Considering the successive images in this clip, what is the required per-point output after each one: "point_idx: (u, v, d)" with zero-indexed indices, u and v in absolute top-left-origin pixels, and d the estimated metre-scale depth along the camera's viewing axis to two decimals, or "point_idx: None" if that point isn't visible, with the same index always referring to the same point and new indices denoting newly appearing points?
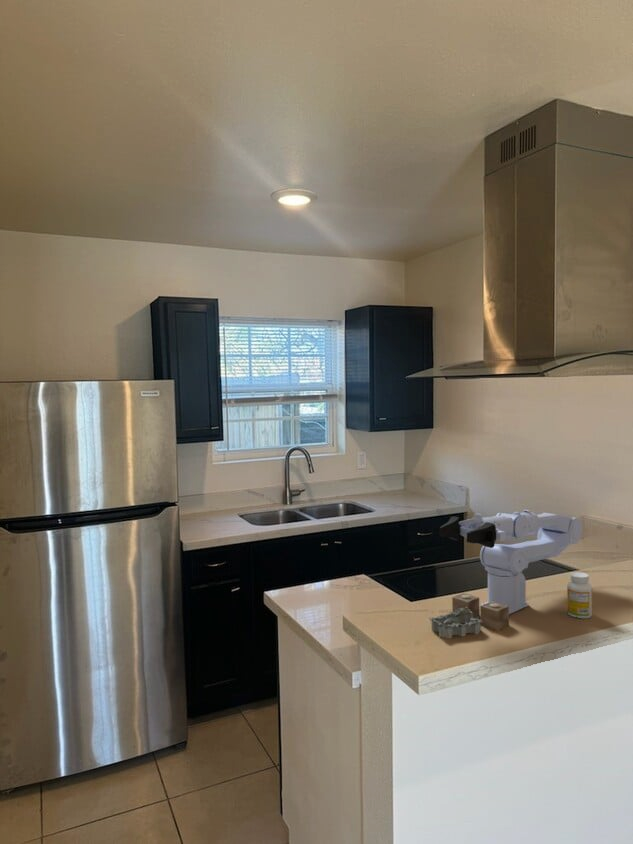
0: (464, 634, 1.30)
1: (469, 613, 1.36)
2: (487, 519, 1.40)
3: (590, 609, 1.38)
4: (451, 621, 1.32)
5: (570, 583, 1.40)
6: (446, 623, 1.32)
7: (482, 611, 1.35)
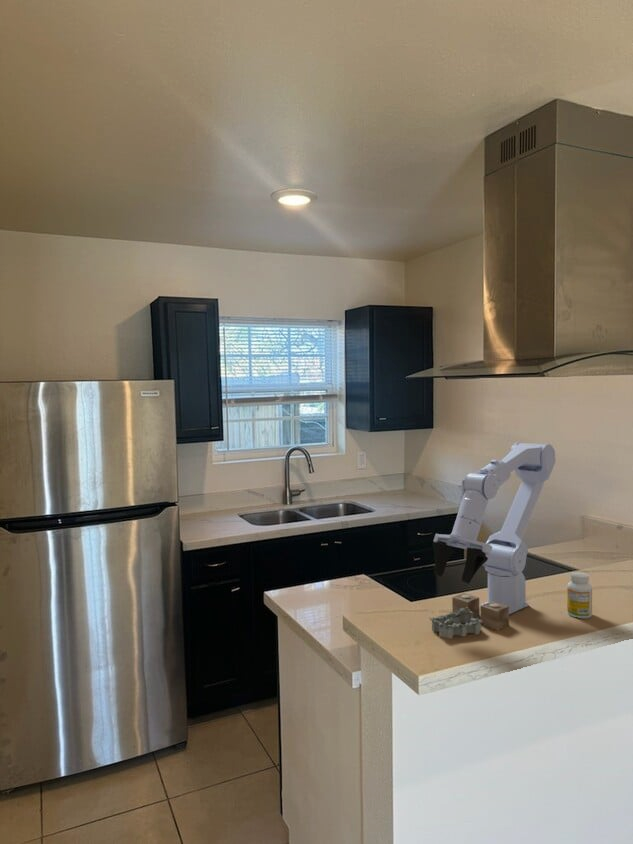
0: (464, 634, 1.30)
1: (469, 613, 1.36)
2: (463, 527, 1.33)
3: (590, 609, 1.38)
4: (451, 621, 1.32)
5: (570, 583, 1.40)
6: (446, 623, 1.32)
7: (482, 611, 1.35)
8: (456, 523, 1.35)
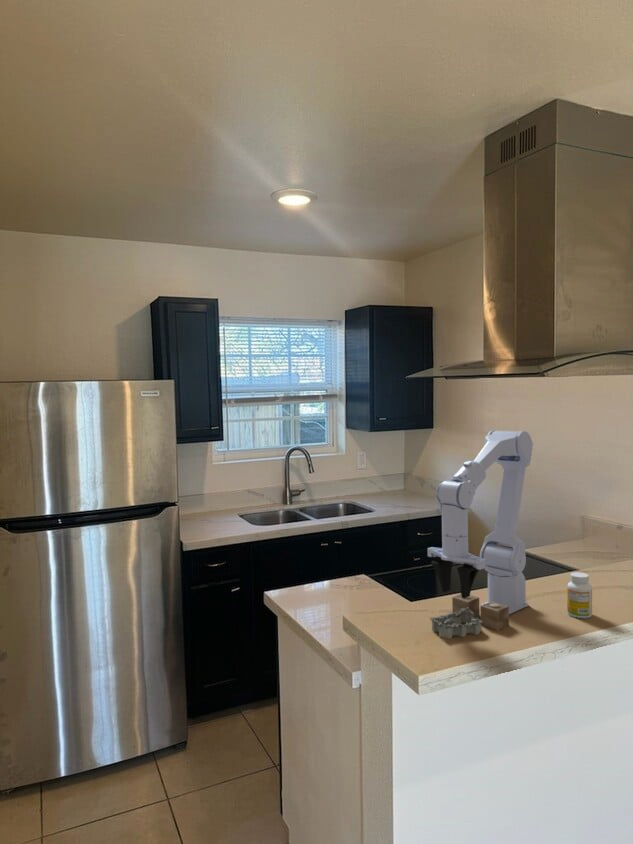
0: (464, 634, 1.30)
1: (470, 613, 1.36)
2: (451, 547, 1.30)
3: (590, 609, 1.38)
4: (451, 621, 1.32)
5: (570, 583, 1.40)
6: (446, 623, 1.32)
7: (482, 611, 1.35)
8: (443, 542, 1.31)
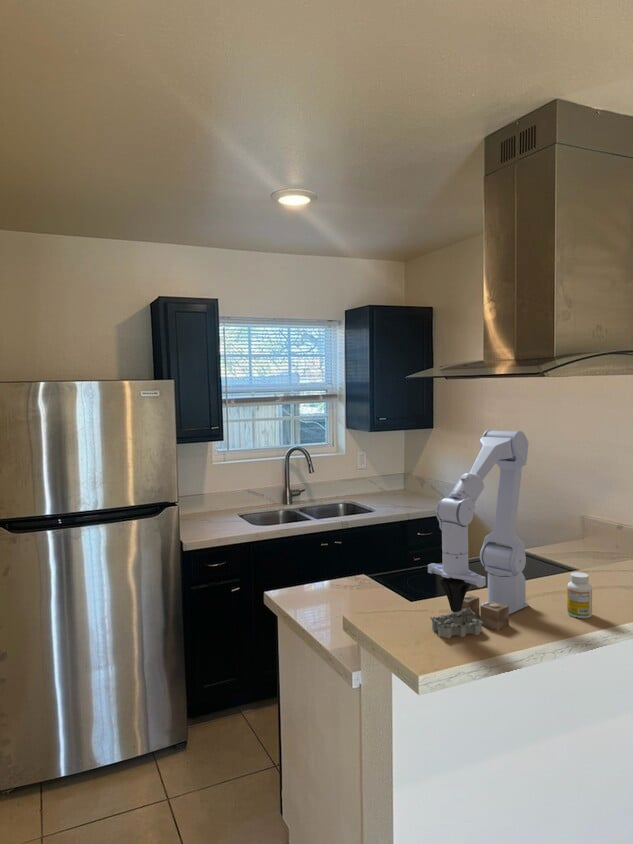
0: (464, 634, 1.30)
1: (472, 614, 1.36)
2: (451, 564, 1.30)
3: (590, 609, 1.38)
4: (451, 621, 1.32)
5: (570, 583, 1.40)
6: (446, 623, 1.32)
7: (482, 612, 1.35)
8: (444, 559, 1.32)
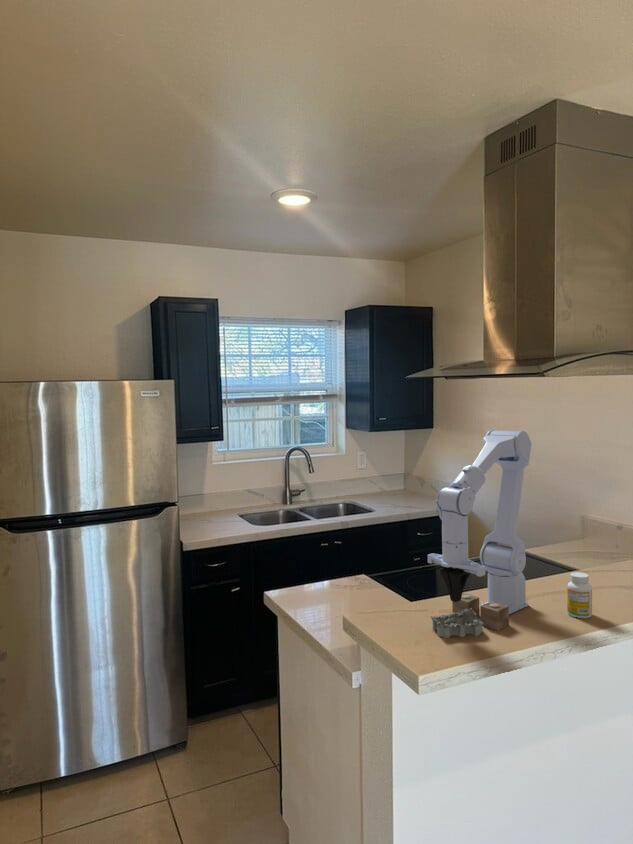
0: (463, 635, 1.30)
1: (473, 614, 1.35)
2: (451, 553, 1.30)
3: (590, 609, 1.38)
4: (451, 621, 1.32)
5: (570, 583, 1.40)
6: (446, 623, 1.32)
7: (482, 612, 1.35)
8: (443, 548, 1.31)
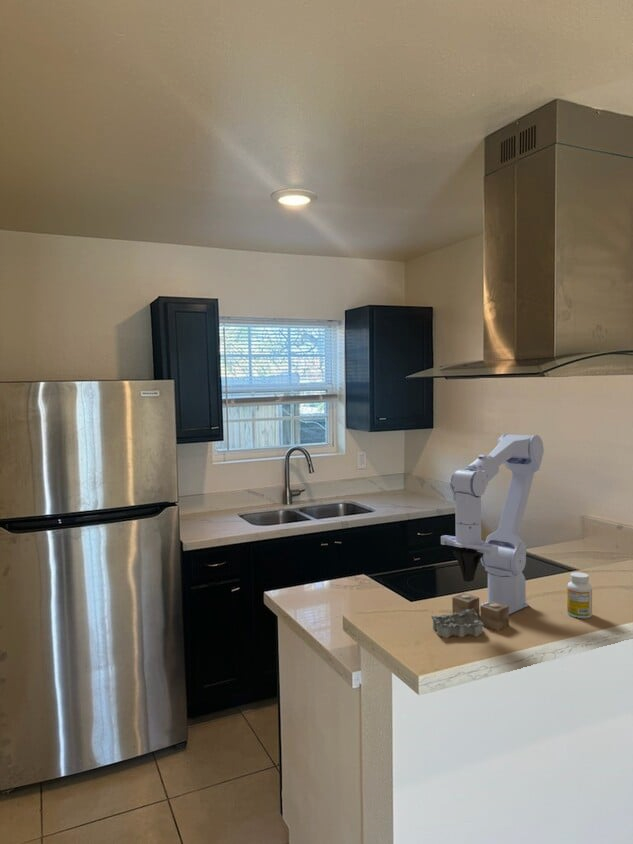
0: (462, 635, 1.30)
1: (474, 615, 1.35)
2: (464, 534, 1.33)
3: (590, 609, 1.38)
4: (451, 621, 1.32)
5: (570, 583, 1.40)
6: (446, 622, 1.32)
7: (482, 612, 1.35)
8: (457, 529, 1.34)
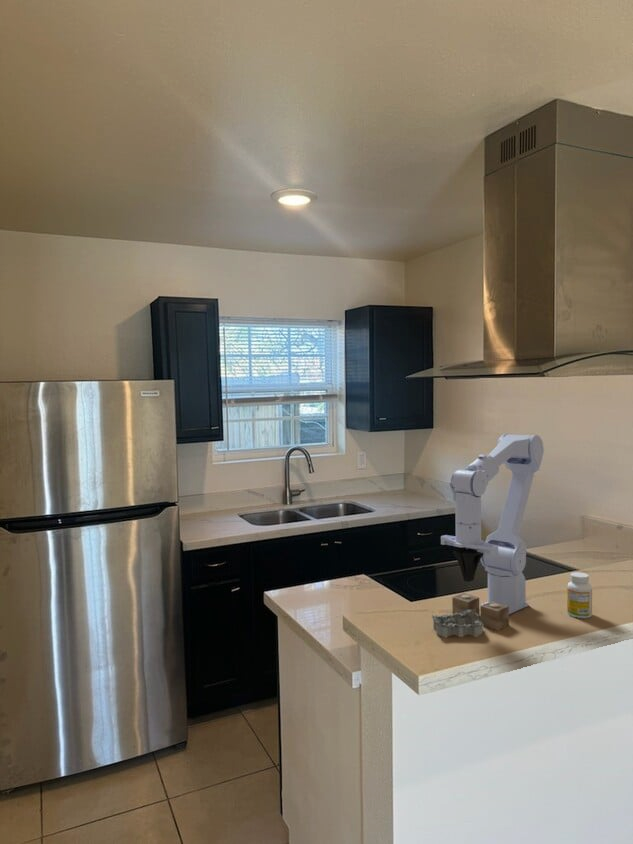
0: (461, 635, 1.29)
1: (476, 616, 1.35)
2: (464, 534, 1.33)
3: (590, 609, 1.38)
4: (451, 621, 1.32)
5: (570, 583, 1.40)
6: (446, 622, 1.32)
7: (482, 611, 1.35)
8: (457, 529, 1.34)
